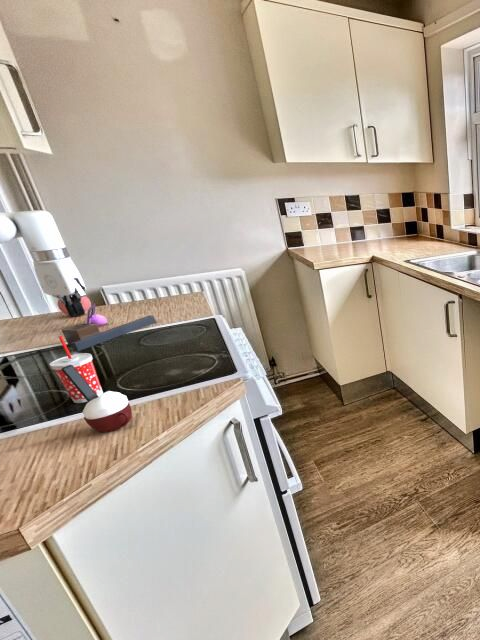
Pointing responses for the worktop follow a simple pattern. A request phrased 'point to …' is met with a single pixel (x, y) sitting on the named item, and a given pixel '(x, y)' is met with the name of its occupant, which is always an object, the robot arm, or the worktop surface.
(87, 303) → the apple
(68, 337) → the walnut block
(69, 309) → the robot arm
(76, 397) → the beverage cup
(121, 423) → the cocoa
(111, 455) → the worktop surface
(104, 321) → the purple looped trinket
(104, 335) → the rail
